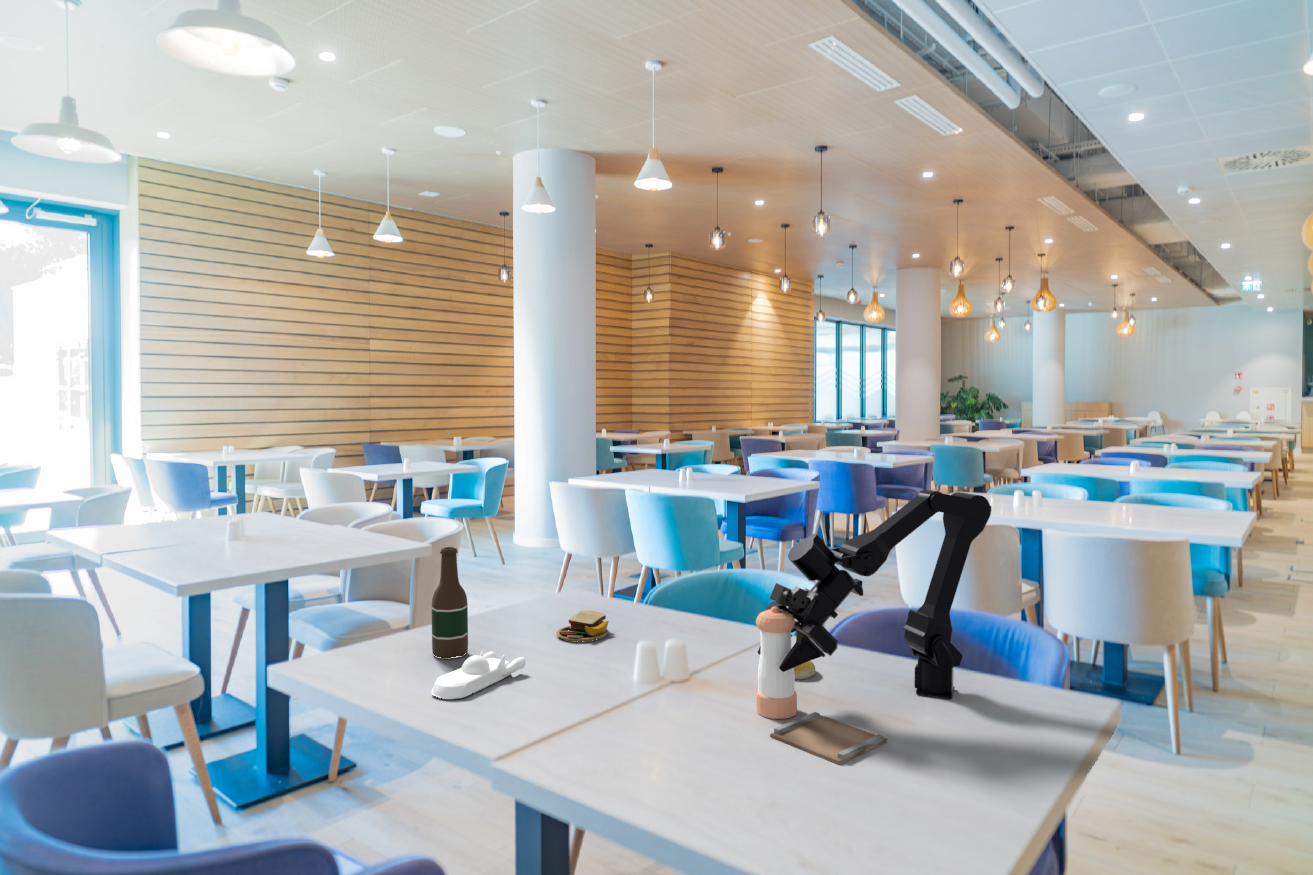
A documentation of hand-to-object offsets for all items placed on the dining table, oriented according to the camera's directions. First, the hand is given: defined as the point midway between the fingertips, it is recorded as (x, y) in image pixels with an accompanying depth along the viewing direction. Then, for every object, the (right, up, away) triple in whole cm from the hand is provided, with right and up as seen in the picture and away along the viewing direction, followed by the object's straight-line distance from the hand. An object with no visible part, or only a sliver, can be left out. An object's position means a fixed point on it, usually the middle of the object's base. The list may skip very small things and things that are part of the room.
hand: (769, 662), depth 147 cm
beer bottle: (-67, -8, +35) cm, 76 cm away
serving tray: (+8, -10, -11) cm, 17 cm away
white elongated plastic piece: (-57, -9, +16) cm, 60 cm away
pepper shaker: (+1, -9, +1) cm, 9 cm away
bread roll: (+8, -9, +22) cm, 25 cm away
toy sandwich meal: (-38, -8, +51) cm, 64 cm away
